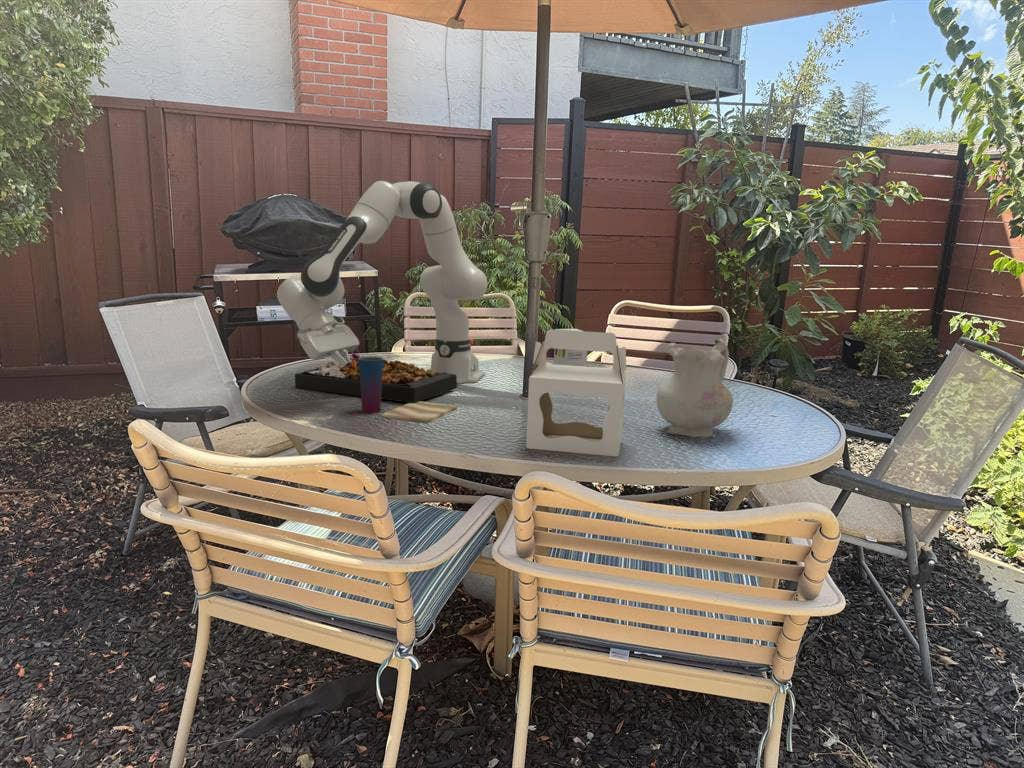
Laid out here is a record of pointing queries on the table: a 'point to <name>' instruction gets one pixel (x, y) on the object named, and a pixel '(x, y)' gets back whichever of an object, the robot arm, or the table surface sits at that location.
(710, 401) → the ceramic pitcher
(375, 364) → the cup
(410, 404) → the wooden board
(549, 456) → the table surface
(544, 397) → the gable box
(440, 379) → the food platter
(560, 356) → the supplement box
